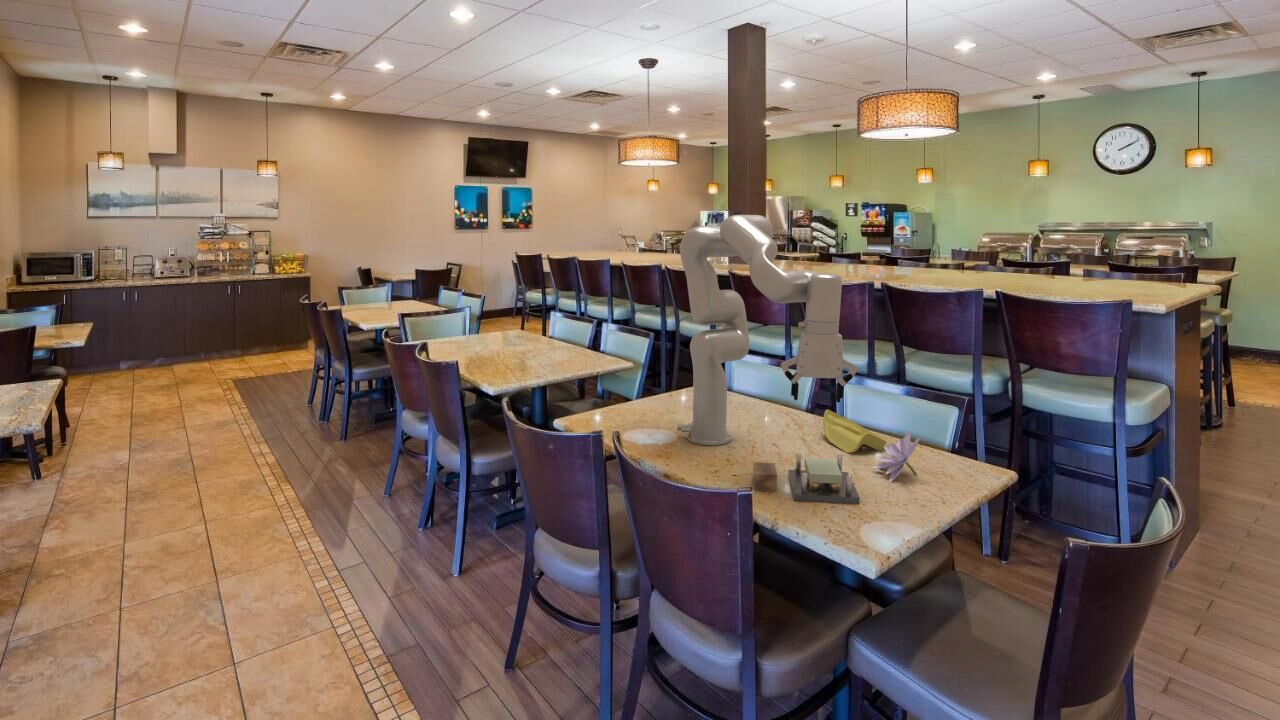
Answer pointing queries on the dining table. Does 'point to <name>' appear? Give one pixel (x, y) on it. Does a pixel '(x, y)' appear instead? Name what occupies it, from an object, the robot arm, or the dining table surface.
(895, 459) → the water lily
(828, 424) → the plastic component
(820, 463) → the board
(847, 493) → the chassis
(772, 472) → the block
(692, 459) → the dining table surface
